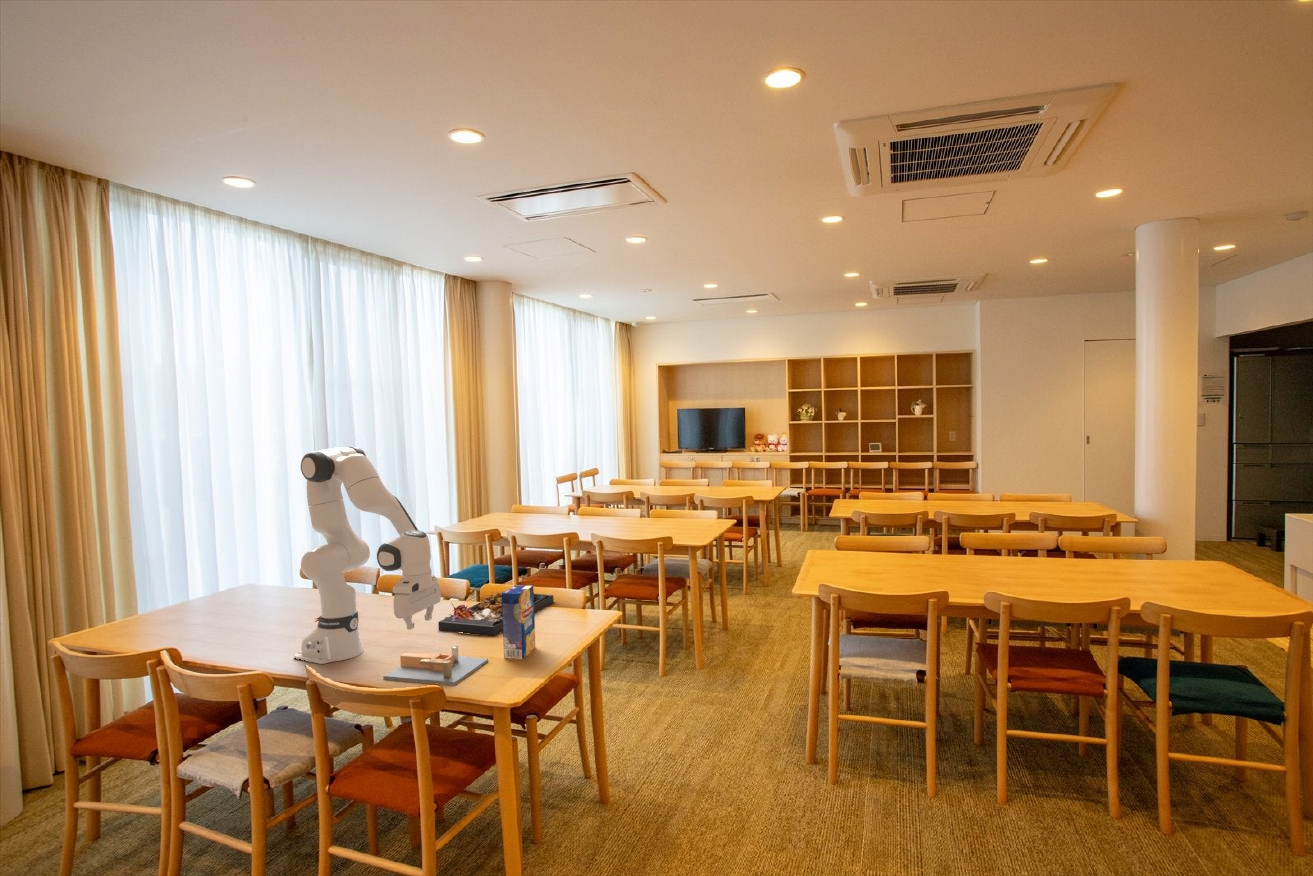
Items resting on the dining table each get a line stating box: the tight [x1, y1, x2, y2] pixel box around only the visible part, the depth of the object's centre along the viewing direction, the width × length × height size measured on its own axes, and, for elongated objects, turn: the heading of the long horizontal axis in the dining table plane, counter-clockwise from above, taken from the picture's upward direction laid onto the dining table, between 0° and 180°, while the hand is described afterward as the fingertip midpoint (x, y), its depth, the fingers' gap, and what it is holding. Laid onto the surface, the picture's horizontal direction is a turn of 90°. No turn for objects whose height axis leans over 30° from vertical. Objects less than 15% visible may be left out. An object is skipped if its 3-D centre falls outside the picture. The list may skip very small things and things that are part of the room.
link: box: [399, 652, 454, 671], centre depth 220 cm, size 17×5×3 cm, turn 75°
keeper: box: [420, 659, 452, 679], centre depth 211 cm, size 10×2×5 cm, turn 75°
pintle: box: [451, 645, 459, 663], centre depth 222 cm, size 2×2×5 cm
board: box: [382, 656, 489, 686], centre depth 219 cm, size 25×20×1 cm
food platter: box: [437, 590, 555, 637], centre depth 276 cm, size 45×25×10 cm, turn 160°
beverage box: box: [502, 584, 536, 659], centre depth 231 cm, size 7×11×22 cm, turn 169°
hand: (419, 624), depth 220 cm, fingers open, 8 cm apart
